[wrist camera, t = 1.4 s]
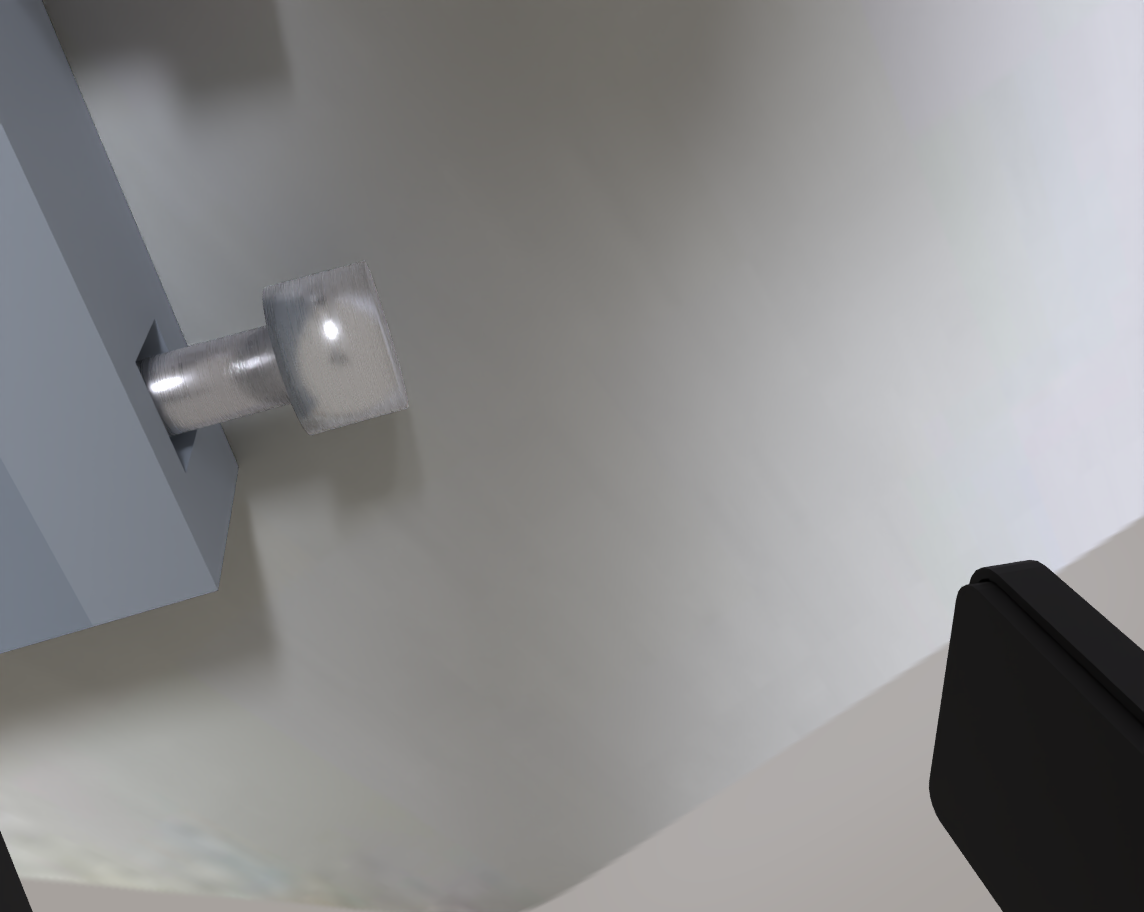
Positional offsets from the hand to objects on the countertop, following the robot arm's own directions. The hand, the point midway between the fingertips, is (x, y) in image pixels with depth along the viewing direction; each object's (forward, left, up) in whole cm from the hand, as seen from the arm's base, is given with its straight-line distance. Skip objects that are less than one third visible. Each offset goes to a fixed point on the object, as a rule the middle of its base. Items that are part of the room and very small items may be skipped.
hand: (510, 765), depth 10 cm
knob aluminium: (+5, -2, -19) cm, 20 cm away
